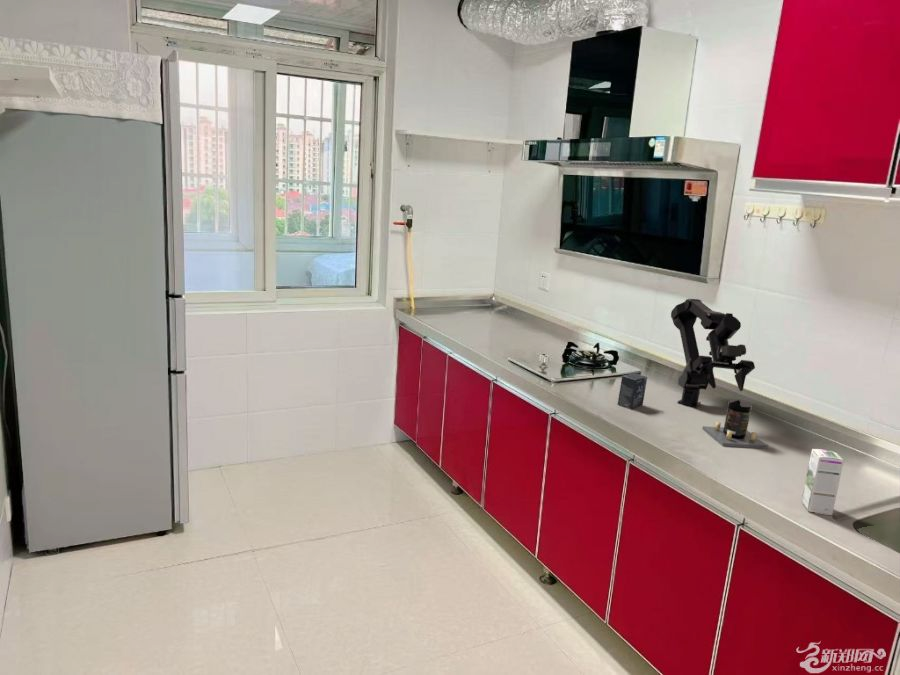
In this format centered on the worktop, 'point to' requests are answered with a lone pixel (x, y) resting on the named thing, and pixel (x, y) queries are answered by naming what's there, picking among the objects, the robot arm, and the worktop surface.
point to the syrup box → (822, 481)
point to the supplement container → (737, 418)
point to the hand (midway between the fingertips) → (728, 389)
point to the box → (632, 390)
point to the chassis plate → (727, 440)
